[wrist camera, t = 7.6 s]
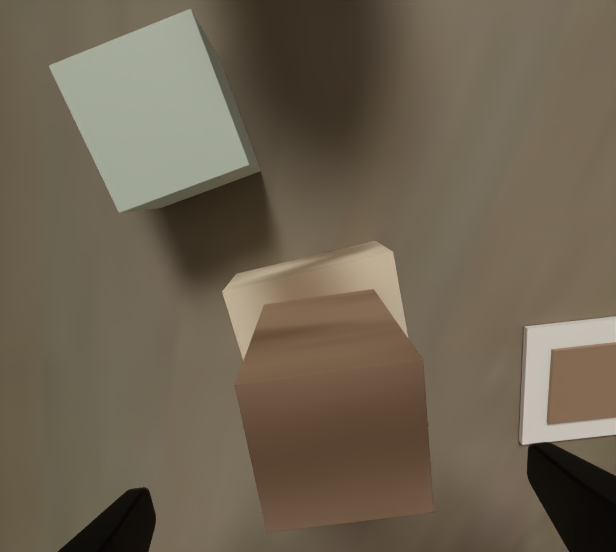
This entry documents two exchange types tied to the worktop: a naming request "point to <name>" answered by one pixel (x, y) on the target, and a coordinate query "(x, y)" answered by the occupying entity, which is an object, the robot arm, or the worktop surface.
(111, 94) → the sage block
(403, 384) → the walnut block
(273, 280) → the beech base
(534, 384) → the swatch
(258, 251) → the worktop surface
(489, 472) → the worktop surface
